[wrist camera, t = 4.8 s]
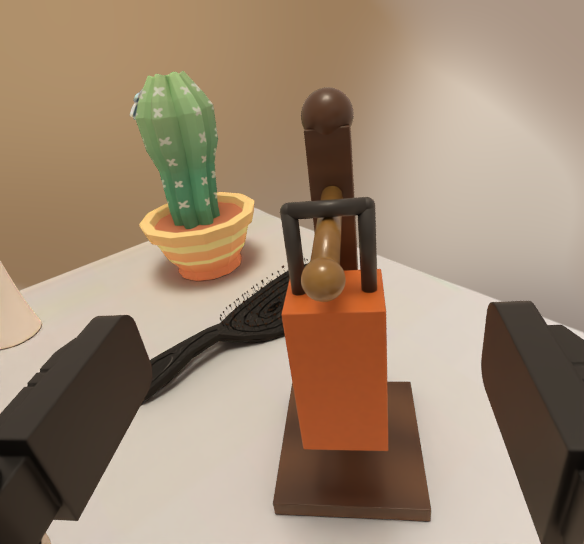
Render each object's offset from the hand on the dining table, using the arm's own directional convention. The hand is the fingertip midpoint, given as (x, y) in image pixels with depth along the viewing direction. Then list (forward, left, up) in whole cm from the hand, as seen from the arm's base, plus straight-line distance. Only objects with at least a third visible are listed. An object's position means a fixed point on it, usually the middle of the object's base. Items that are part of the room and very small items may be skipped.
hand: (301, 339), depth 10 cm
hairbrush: (+22, +21, -22) cm, 37 cm away
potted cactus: (+35, +34, -22) cm, 53 cm away
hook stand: (+12, +4, -22) cm, 25 cm away
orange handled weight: (+10, +4, -16) cm, 19 cm away
